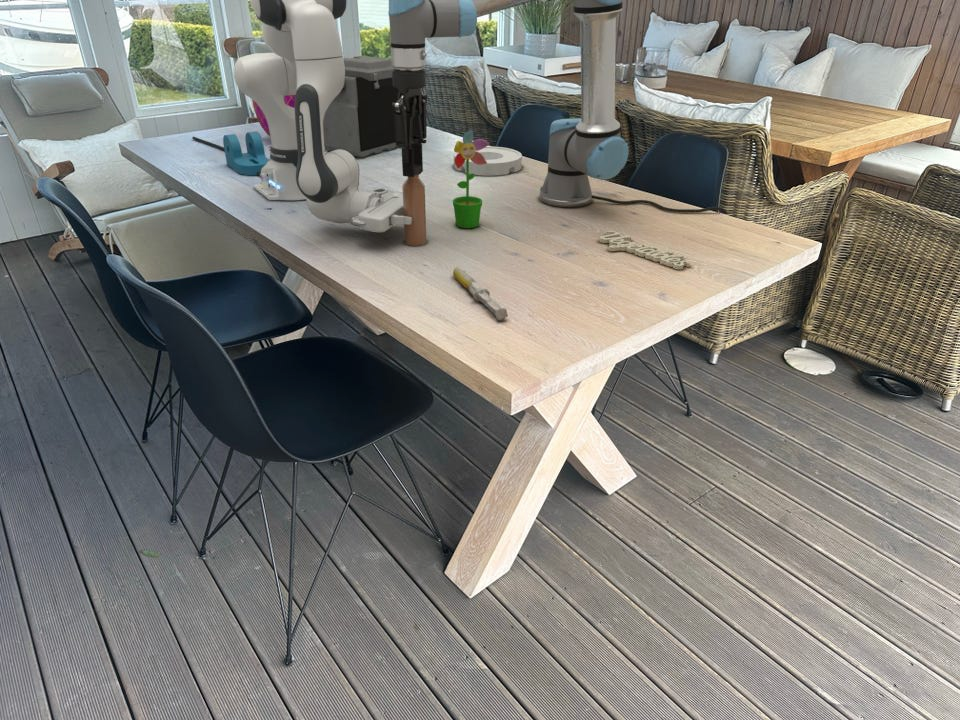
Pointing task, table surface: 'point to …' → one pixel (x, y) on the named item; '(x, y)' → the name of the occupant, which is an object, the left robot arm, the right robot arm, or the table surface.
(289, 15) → the left robot arm
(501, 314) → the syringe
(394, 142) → the grey and black block
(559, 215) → the table surface
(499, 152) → the ashtray
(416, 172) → the cap
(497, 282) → the table surface
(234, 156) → the camera mount
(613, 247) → the decorative sign
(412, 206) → the bottle
